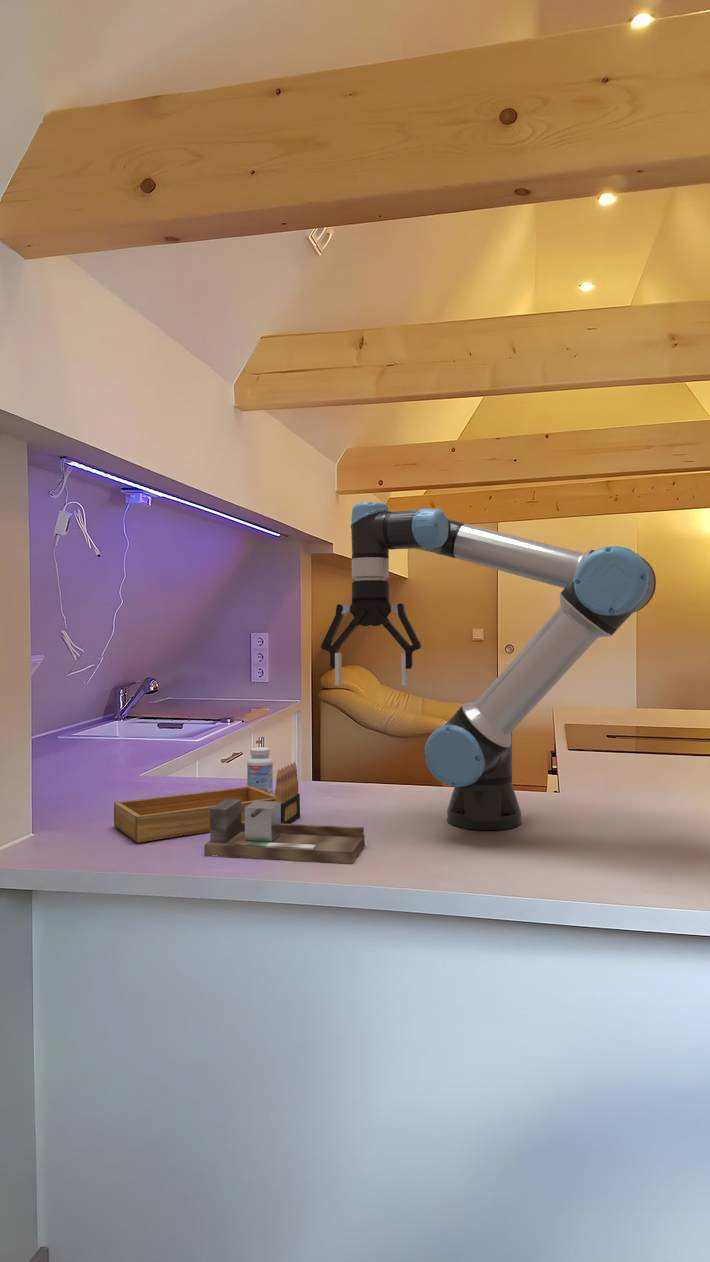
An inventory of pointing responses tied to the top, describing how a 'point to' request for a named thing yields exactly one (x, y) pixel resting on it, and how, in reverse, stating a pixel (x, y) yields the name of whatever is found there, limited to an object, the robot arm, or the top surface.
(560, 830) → the top surface
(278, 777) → the ammunition clip
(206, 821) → the tray
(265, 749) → the pill bottle
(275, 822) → the cube with dark rod
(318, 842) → the brown tray with block
